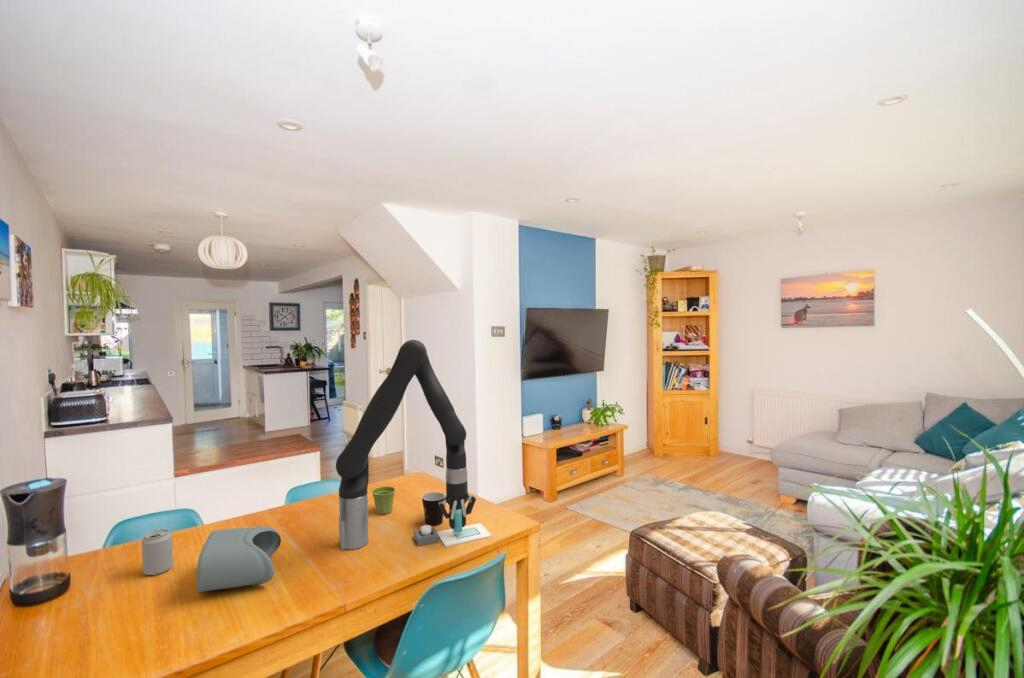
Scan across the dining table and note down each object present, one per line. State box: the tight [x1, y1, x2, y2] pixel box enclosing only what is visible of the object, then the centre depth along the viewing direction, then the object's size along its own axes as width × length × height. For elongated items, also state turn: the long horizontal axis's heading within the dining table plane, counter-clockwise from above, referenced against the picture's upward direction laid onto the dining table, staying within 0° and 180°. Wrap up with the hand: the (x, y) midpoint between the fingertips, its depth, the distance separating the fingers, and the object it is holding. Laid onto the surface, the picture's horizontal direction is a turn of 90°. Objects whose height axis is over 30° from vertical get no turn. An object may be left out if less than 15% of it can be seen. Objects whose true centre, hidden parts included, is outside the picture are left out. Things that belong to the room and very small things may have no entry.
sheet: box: [436, 522, 493, 548], centre depth 170 cm, size 17×11×1 cm, turn 115°
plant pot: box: [371, 485, 397, 515], centre depth 191 cm, size 9×9×9 cm
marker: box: [453, 508, 462, 532], centre depth 168 cm, size 3×3×8 cm
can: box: [141, 528, 174, 576], centre depth 147 cm, size 8×8×12 cm
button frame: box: [413, 526, 440, 547], centre depth 167 cm, size 7×7×2 cm
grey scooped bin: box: [196, 525, 282, 593], centre depth 144 cm, size 22×19×13 cm
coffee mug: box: [421, 491, 446, 527], centre depth 182 cm, size 12×9×10 cm
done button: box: [420, 524, 432, 537], centre depth 166 cm, size 4×4×3 cm
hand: (457, 527), depth 169 cm, fingers closed on marker, 3 cm apart
